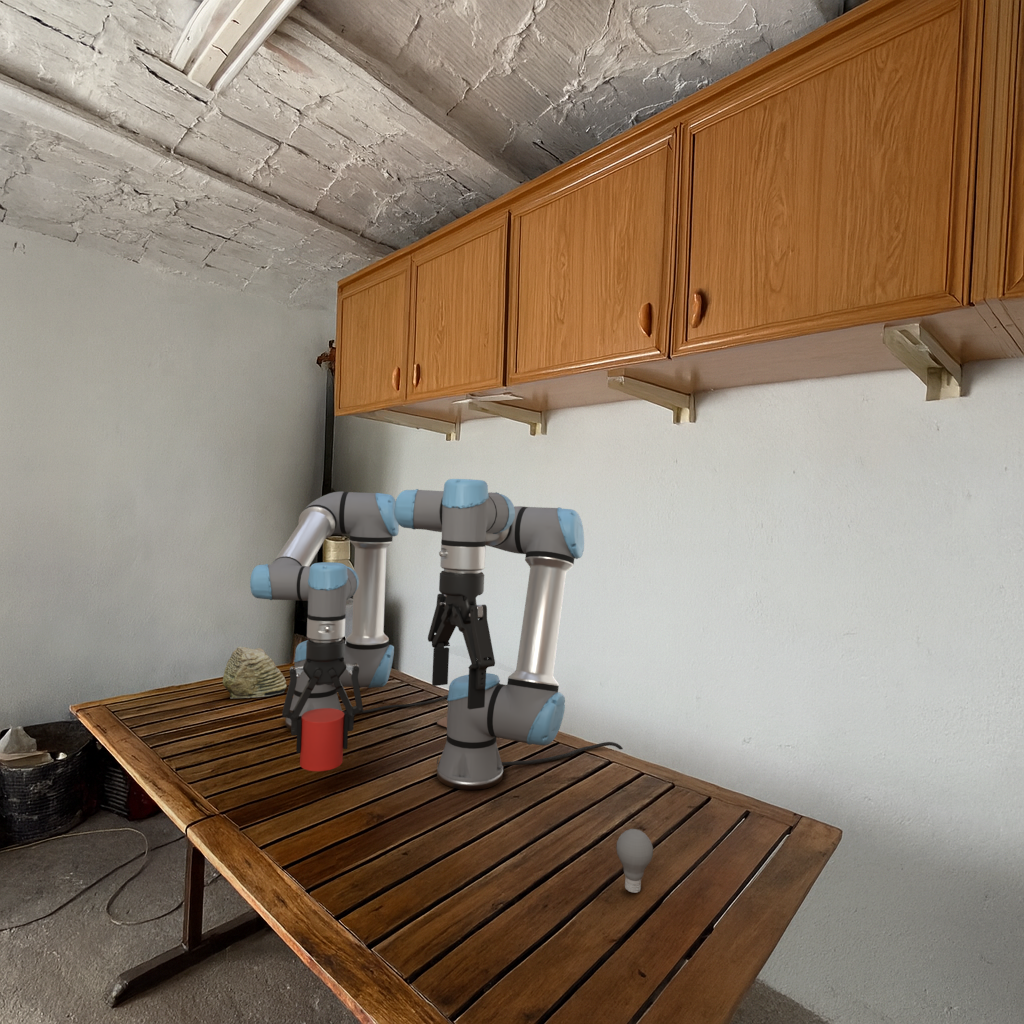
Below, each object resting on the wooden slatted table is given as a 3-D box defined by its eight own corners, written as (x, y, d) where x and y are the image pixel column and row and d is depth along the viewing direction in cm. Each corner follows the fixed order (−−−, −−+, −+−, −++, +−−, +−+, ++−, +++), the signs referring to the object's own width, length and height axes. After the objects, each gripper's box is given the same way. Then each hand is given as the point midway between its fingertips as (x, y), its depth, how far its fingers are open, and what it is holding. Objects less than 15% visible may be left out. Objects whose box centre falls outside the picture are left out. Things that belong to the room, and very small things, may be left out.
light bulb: (610, 879, 108) (613, 822, 108) (644, 879, 109) (647, 822, 109) (619, 902, 102) (622, 840, 102) (655, 901, 103) (658, 840, 103)
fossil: (218, 695, 195) (220, 647, 195) (278, 685, 208) (279, 640, 207) (228, 703, 189) (230, 653, 188) (289, 692, 201) (290, 645, 201)
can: (342, 752, 135) (344, 707, 135) (342, 769, 127) (344, 721, 127) (301, 755, 133) (302, 709, 133) (298, 772, 125) (300, 723, 125)
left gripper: (269, 644, 123) (265, 760, 123) (380, 641, 129) (376, 751, 130) (271, 636, 130) (267, 745, 130) (376, 633, 136) (372, 737, 137)
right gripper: (412, 562, 115) (408, 678, 116) (477, 580, 94) (471, 722, 95) (449, 562, 119) (445, 674, 120) (520, 579, 98) (514, 715, 99)
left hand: (321, 748), depth 130 cm, fingers closed on can, 8 cm apart
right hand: (456, 695), depth 107 cm, fingers open, 13 cm apart
